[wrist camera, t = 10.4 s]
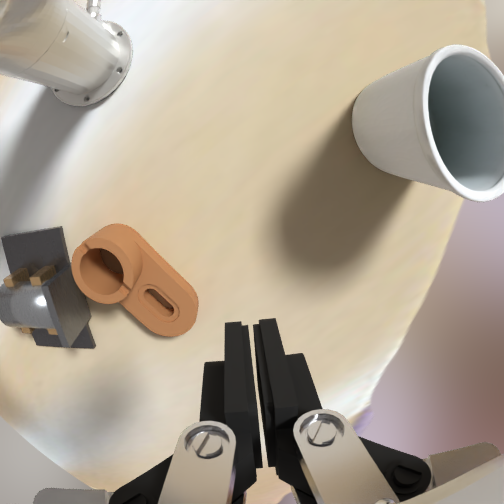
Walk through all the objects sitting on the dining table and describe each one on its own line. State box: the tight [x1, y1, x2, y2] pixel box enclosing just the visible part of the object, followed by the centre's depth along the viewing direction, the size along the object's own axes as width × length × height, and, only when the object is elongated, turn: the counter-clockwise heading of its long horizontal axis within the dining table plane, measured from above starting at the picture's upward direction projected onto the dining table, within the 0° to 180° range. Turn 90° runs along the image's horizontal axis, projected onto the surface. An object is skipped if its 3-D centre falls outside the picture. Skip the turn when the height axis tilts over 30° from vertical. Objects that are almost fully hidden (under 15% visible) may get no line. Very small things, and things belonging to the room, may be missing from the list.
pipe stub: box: [0, 226, 96, 348], centre depth 35 cm, size 20×14×8 cm
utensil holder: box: [352, 45, 504, 202], centre depth 27 cm, size 15×15×18 cm
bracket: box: [71, 224, 198, 337], centre depth 37 cm, size 18×8×7 cm, turn 41°
